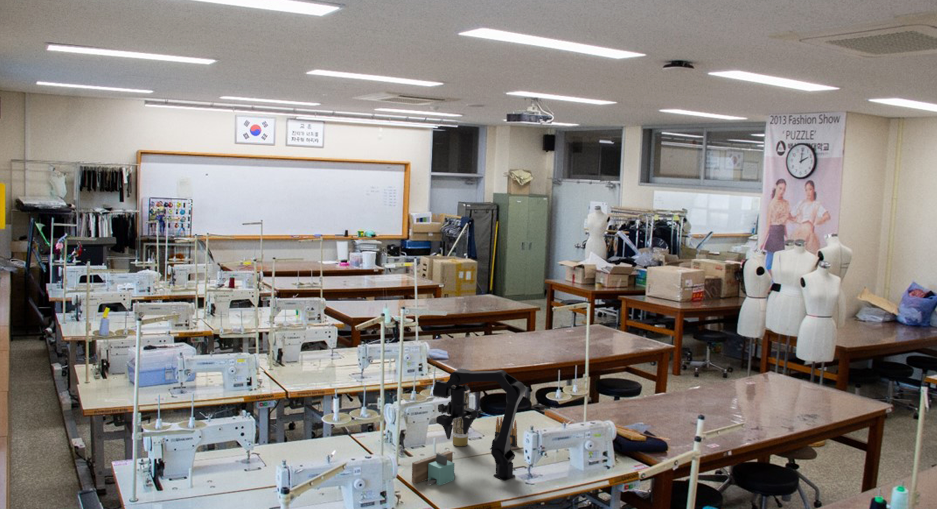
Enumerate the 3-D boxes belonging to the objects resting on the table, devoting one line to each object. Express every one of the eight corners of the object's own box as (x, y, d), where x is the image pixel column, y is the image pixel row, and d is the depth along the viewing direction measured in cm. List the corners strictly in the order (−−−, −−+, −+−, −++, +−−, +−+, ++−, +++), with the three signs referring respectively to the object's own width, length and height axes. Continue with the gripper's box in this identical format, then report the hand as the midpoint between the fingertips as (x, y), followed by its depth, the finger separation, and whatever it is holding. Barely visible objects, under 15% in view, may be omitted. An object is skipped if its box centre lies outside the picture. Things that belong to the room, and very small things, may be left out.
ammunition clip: (494, 442, 360) (495, 416, 358) (496, 441, 361) (496, 415, 360) (515, 447, 354) (516, 421, 353) (517, 445, 356) (518, 419, 355)
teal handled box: (454, 480, 316) (454, 454, 314) (439, 485, 310) (440, 459, 309) (442, 475, 320) (443, 450, 319) (427, 480, 315) (428, 454, 313)
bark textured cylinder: (466, 447, 352) (467, 392, 349) (451, 446, 353) (452, 391, 350) (469, 442, 358) (470, 388, 355) (454, 440, 360) (456, 387, 357)
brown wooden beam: (459, 474, 322) (460, 455, 321) (422, 487, 308) (423, 467, 307) (448, 469, 326) (449, 450, 325) (411, 482, 312) (412, 462, 311)
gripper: (460, 391, 338) (459, 426, 340) (427, 399, 325) (426, 436, 327) (479, 397, 330) (477, 433, 332) (446, 406, 317) (445, 443, 319)
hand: (456, 436), depth 328 cm, fingers open, 9 cm apart
